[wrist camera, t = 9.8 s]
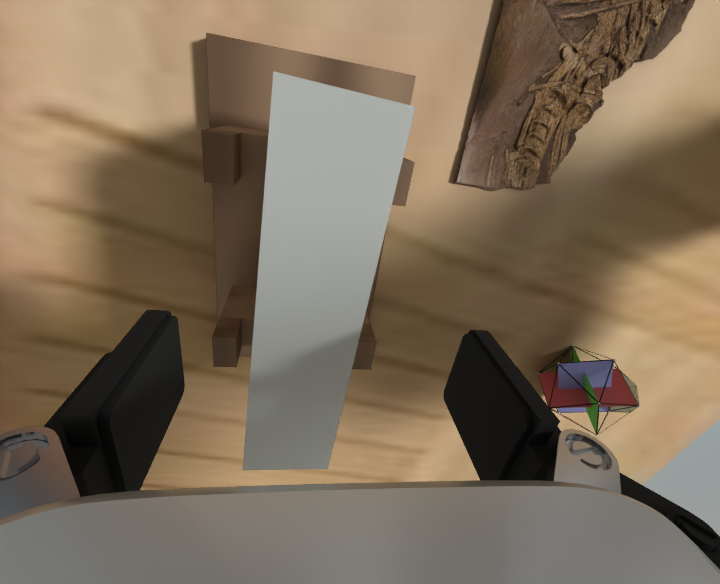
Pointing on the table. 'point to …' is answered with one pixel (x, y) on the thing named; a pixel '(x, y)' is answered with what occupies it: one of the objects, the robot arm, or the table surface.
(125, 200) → the table surface
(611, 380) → the geometric puzzle
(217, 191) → the wooden display stand
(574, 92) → the wooden fragment
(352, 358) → the clay bar
